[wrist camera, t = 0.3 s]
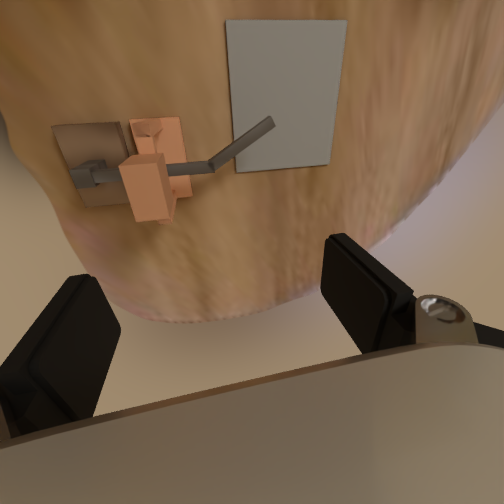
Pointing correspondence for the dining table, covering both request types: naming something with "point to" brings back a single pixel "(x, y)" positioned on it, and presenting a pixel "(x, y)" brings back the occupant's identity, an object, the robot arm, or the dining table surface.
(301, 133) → the mat
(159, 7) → the dining table surface
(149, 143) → the orange block
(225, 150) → the stand
